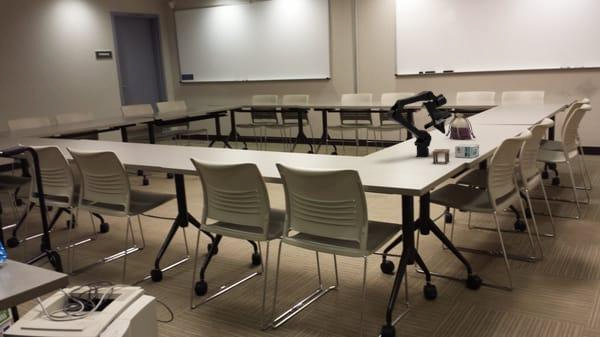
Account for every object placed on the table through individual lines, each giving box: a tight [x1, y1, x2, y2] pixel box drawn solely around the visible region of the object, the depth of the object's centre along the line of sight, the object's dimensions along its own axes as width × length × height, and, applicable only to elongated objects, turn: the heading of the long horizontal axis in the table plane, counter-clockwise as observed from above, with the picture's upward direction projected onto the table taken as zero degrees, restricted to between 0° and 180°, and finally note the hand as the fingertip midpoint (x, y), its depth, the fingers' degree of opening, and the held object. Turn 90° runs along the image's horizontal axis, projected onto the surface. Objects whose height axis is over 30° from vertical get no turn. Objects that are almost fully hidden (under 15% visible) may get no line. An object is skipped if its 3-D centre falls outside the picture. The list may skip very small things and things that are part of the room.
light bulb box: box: [454, 143, 480, 159], centre depth 306 cm, size 11×7×11 cm
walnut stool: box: [431, 148, 450, 165], centre depth 293 cm, size 8×8×7 cm
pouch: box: [445, 112, 476, 140], centre depth 370 cm, size 25×8×19 cm, turn 44°
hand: (444, 133), depth 314 cm, fingers closed
